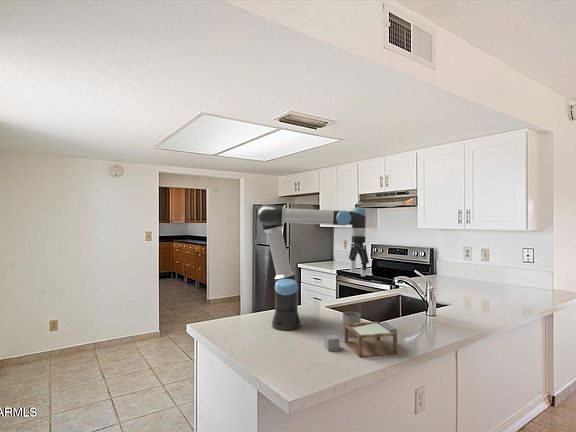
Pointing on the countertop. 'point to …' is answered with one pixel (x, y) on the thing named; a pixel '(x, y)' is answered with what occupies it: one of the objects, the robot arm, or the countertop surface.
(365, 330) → the trapdoor
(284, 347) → the countertop surface
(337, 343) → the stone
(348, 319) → the cup
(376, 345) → the frame
